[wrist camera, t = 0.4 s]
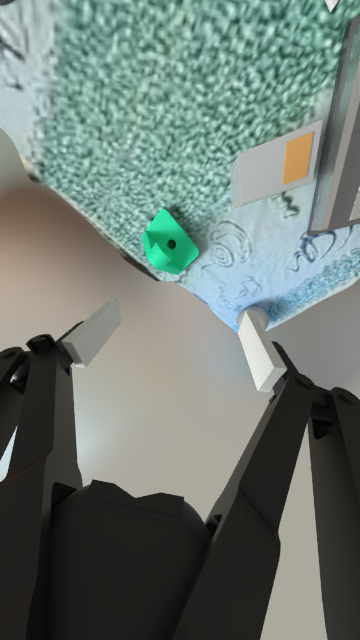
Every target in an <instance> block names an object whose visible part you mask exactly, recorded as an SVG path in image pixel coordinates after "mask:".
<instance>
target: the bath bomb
mask: <svg viewBox="0 0 360 640" xmlns="http://www.w3.org/2000/svg"><path fill="white" fill-rule="evenodd" d="M246 311H251V312H254V313H255V315H256V317H257V318H258V320H259V322H260V323H261V325H262V327H263V328H264V330H265V329H266V328H267V326H268V323H269V317H268V315H267V313H266V312H265V311H264V310H263V309H261V308H259V307H256V306H250V307H247V308H244V309H243V310H242V311H241V312H240V313H239V315H238V318H237V323H238V326H239V328H240V325H241V323H242V320H243V317H244V314H245V312H246Z"/></svg>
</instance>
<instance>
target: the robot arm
mask: <svg viewBox="0 0 360 640" xmlns="http://www.w3.org/2000/svg"><path fill="white" fill-rule="evenodd" d="M12 1H13V0H0V5H6V4H9V3H10V2H12ZM122 321H123V317H122V313H121V309H120V304H119V300H118V299H116V298H111V299H109V300H108V301H107V302H106V303H105V304H104V305H102V306H101V308H99V309H98V310H97V311H96V312H94V313H93V314H92V315H91V316H90V317H89V318H87V319H86V320H85V321H82V322H80V323H78V324H76V325H75V326H74V327H72V329H70V330H69V331H68V332H66V333H65V334H64V335H63V336H62V337H60V338H59V339H58V340H57V341H56V342H55V341H54V339H53V338H52V336H51V335H49V334H42V335H38V336H36V337H34V338H32V339H30V340H29V341H28V342H27V343H26V345H27V346H28V348H29V349H30V350H31V351H24V350H23V349H22V348H21V347H12V348H8V349H6V350H3V351H2V352H0V460H1V458H2V456H3V454H4V452H5V450H6V448H7V446H8V443H9V441H10V439H11V437H12V435H13V433H14V431H15V429H16V427H17V431H16V435H15V440H14V445H13V450H12V454H11V459H10V464H9V468H8V473H7V476H6V477H5V479H4V480H3V481H1V482H0V640H260V637H261V633H262V629H263V624H264V620H265V616H266V612H267V607H268V603H269V600H270V595H271V591H272V587H273V583H274V579H275V575H276V571H277V567H278V563H279V557H280V539H279V535H278V529H279V524H280V520H281V517H282V513H283V509H284V505H285V502H286V498H287V495H288V491H289V487H290V483H291V480H292V476H293V472H294V469H295V465H296V461H297V457H298V454H299V450H300V447H301V443H302V439H303V436H304V432H305V428H306V425H307V423H308V434H309V447H310V458H311V471H312V483H313V494H314V506H315V519H316V530H317V542H318V555H319V566H320V579H321V591H322V601H323V609H324V618H325V626H326V633H327V638H328V640H360V400H359V399H358V398H357V397H356V396H355V395H353V394H352V393H351V392H349V391H347V390H345V389H343V388H339V387H334V388H333V389H332V390H330V391H329V390H326V389H324V388H321V387H318V386H315V385H314V383H313V382H312V381H311V380H310V379H309V378H308V377H306V376H305V375H302V374H300V373H299V372H298V371H297V369H296V368H295V366H294V364H293V363H292V361H291V360H290V358H289V357H288V356H287V354H286V353H285V351H284V349H283V348H282V346H281V345H279V344H278V343H277V342H273V341H271V340H270V339H269V337H268V335H267V334H266V332H265V330H264V328H263V327H262V325H261V323H260V322H259V320H258V318H257V317H256V315H255V313H254V312H251V311H246V312H245V314H244V317H243V320H242V323H241V325H240V328H239V331H238V334H239V337H240V340H241V343H242V346H243V349H244V352H245V355H246V358H247V361H248V363H249V366H250V369H251V372H252V375H253V378H254V381H255V384H256V387H257V390H258V391H261V392H270V391H271V389H272V388H273V390H274V393H275V394H274V395H273V396H272V398H271V399H270V400H269V404H268V406H267V408H266V410H265V412H264V414H263V416H262V418H261V420H260V422H259V424H258V425H257V427H256V429H255V431H254V433H253V435H252V437H251V439H250V441H249V443H248V445H247V447H246V449H245V450H244V452H243V454H242V456H241V458H240V460H239V462H238V464H237V466H236V468H235V470H234V471H233V474H232V475H231V477H230V479H229V481H228V483H227V485H226V487H225V489H224V491H223V492H222V494H221V495H220V497H219V498H218V500H217V501H216V503H215V505H214V506H213V508H212V510H211V512H210V514H209V516H208V518H207V520H206V521H205V523H204V522H203V521H202V519H201V517H200V516H199V514H198V513H197V512H196V511H195V509H194V508H193V507H191V506H190V505H189V504H188V503H187V502H185V501H184V497H181V496H176V495H171V494H165V493H157V494H152V495H147V496H143V497H138V498H134V497H133V496H131V495H130V494H128V493H127V492H126V491H124V490H123V489H121V488H120V487H118V486H117V485H116V484H114V483H108V482H103V481H98V480H92V482H91V484H90V485H88V486H85V487H83V484H82V477H81V473H80V470H79V468H78V464H77V449H76V432H75V417H74V416H75V415H74V400H73V383H72V368H71V366H70V365H71V364H72V363H73V362H74V363H75V365H76V367H82V368H86V367H87V365H88V364H89V363H90V362H91V360H92V359H93V358H94V357H95V355H96V354H97V353H98V351H99V350H100V349H101V348H102V346H103V345H104V344H105V342H106V341H107V340H108V339H109V337H110V336H111V335H112V333H113V332H114V331H115V330H116V328H117V327H118V326H119V324H120V323H121V322H122ZM12 377H13V378H14V379H13V381H12V382H10V380H11V378H12ZM17 425H18V426H17Z"/></svg>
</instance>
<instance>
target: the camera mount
mask: <svg viewBox="0 0 360 640" xmlns="http://www.w3.org/2000/svg"><path fill="white" fill-rule="evenodd" d="M170 239H173V240H174V241H175V242H176V247H175V248H171V247H170V246H169V240H170ZM142 240H143V244H144V248H145V252H146V256H147V258H148V260H149V261H150V263H151V264H152V265H153V266H154V267H156V268H157V269H159V270H162V271H166V272H169V273H173V274H177V275H178V274H179V273H180V272H181V271H182V270H183V269H185V268H186V267H187V266H188V265H189V264H190V263H191V262H192V261H193V260H194V259H195V258H196V257H197V256H198V254H199V249H198V248H197V246H196V245H195V244H194V243H193V241H192V240H191V238H190V237H189V236H188V235H187V233H186V232H185V231H184V230H183V228H182V227H181V226H180V225H179V223H178V222H176V220H175V219H174V218H173V217H172V215H171V214H170V213H169V212H168V211H167V210H165V209H162V210H161V211H160V212H159V213H158V215H157V216H156V217H155V219H154V220H153V221H152V223H151V224H150V225H149V227H148V228H147V230H146V231H145V232H144V234H143V235H142Z"/></svg>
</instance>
